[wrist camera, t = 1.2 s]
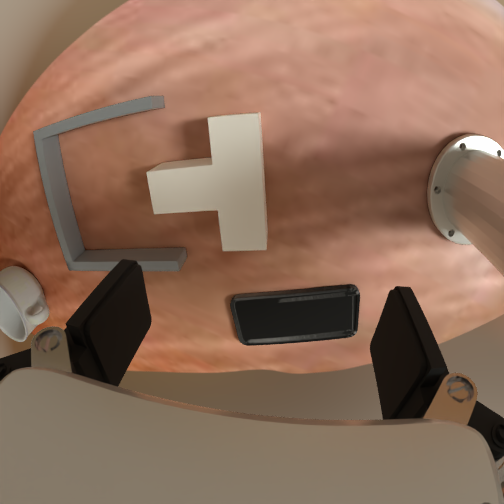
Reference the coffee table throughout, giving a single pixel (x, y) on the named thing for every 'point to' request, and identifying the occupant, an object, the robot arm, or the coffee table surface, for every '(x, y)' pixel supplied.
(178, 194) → the t block
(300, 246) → the coffee table surface
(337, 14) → the coffee table surface
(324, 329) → the phone
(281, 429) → the robot arm
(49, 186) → the bay
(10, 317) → the teacup
